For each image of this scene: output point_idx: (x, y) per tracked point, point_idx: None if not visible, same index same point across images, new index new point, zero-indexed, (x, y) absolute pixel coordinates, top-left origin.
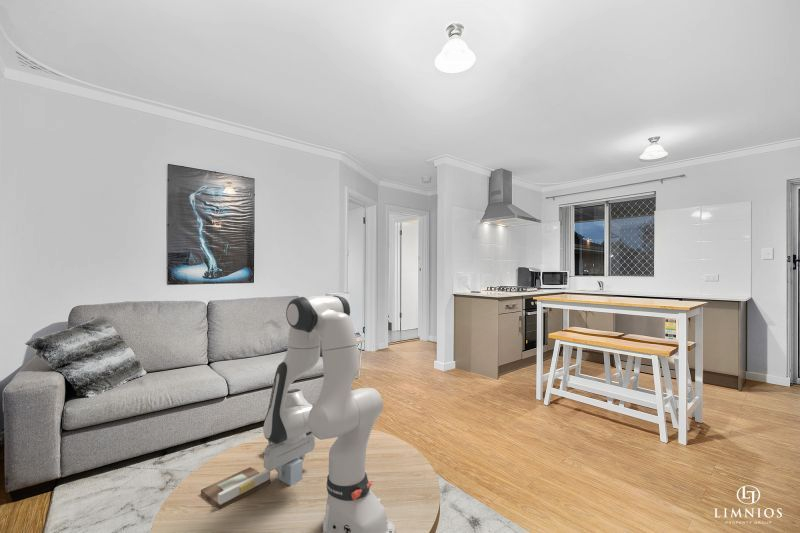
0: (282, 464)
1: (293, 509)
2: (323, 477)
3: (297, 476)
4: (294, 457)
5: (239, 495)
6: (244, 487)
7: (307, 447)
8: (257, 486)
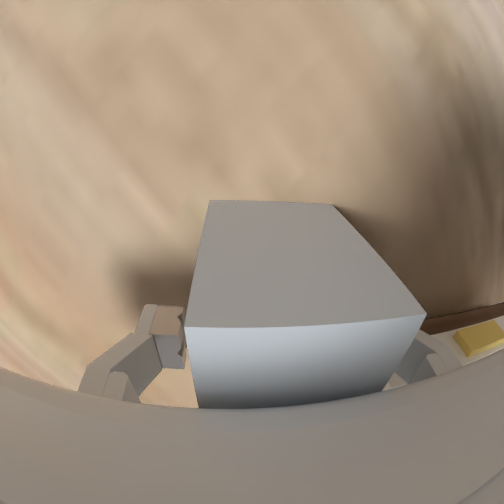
0: (462, 376)
1: (467, 24)
2: (78, 84)
3: (270, 220)
4: (296, 434)
5: (484, 318)
6: (494, 334)
7: (21, 449)
8: (430, 330)
